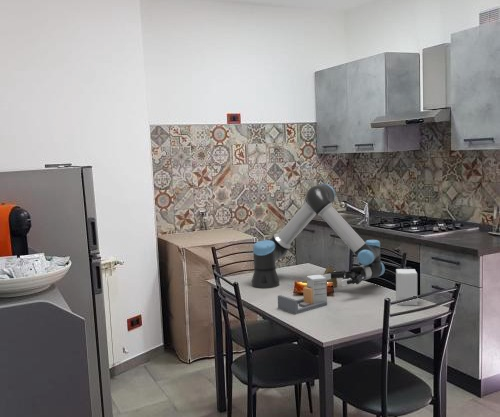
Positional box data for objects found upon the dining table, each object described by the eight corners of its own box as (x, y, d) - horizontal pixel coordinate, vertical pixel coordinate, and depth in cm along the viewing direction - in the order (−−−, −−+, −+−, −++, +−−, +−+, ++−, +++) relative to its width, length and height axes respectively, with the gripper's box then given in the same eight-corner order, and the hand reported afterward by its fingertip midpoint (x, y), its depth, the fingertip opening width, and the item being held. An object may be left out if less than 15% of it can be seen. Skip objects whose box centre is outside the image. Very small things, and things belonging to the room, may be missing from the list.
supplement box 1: (306, 301, 248) (306, 275, 246) (321, 299, 250) (320, 274, 248) (312, 305, 241) (312, 279, 239) (327, 303, 243) (326, 277, 241)
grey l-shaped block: (278, 308, 239) (277, 295, 238) (308, 299, 250) (308, 287, 250) (295, 314, 229) (295, 301, 228) (326, 305, 241) (326, 292, 240)
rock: (343, 283, 269) (339, 276, 279) (333, 271, 267) (329, 264, 277) (326, 296, 270) (323, 288, 280) (316, 284, 268) (313, 277, 278)
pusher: (298, 305, 242) (297, 288, 241) (305, 303, 244) (305, 287, 243) (305, 308, 238) (305, 291, 237) (313, 305, 240) (312, 289, 239)
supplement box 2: (417, 305, 235) (417, 273, 233) (397, 305, 236) (397, 273, 235) (415, 299, 243) (415, 268, 242) (395, 299, 245) (395, 268, 244)
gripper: (380, 285, 253) (350, 293, 241) (342, 276, 273) (313, 283, 261) (380, 270, 252) (350, 277, 240) (342, 262, 272) (312, 269, 260)
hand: (330, 281), depth 250 cm, fingers open, 13 cm apart
